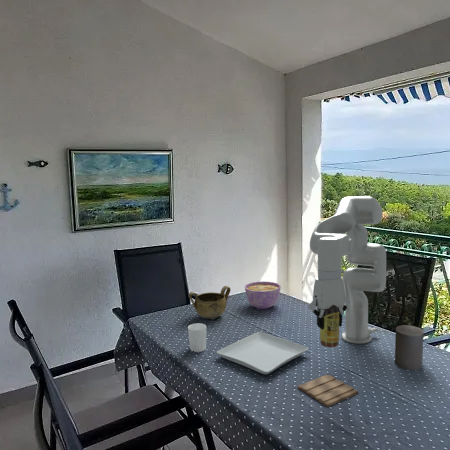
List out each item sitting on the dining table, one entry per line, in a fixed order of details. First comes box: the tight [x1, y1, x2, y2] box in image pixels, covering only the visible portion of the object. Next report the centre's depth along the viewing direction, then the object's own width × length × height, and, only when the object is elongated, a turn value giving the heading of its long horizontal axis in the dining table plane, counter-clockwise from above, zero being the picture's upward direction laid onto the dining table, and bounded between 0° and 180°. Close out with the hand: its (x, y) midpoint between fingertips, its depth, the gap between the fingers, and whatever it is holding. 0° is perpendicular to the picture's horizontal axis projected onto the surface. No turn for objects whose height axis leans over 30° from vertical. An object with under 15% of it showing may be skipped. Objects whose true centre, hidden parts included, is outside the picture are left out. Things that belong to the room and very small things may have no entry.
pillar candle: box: [394, 324, 425, 371], centre depth 156 cm, size 10×10×15 cm
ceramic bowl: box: [188, 285, 231, 320], centre depth 216 cm, size 22×17×15 cm
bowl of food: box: [244, 281, 281, 310], centre depth 229 cm, size 20×20×12 cm
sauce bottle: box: [319, 305, 340, 348], centre depth 139 cm, size 7×6×20 cm
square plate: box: [215, 331, 309, 375], centre depth 168 cm, size 27×27×4 cm
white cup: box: [187, 322, 207, 353], centre depth 178 cm, size 8×8×10 cm
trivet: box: [297, 374, 359, 407], centre depth 141 cm, size 14×14×1 cm
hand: (329, 326), depth 140 cm, fingers closed on sauce bottle, 6 cm apart
